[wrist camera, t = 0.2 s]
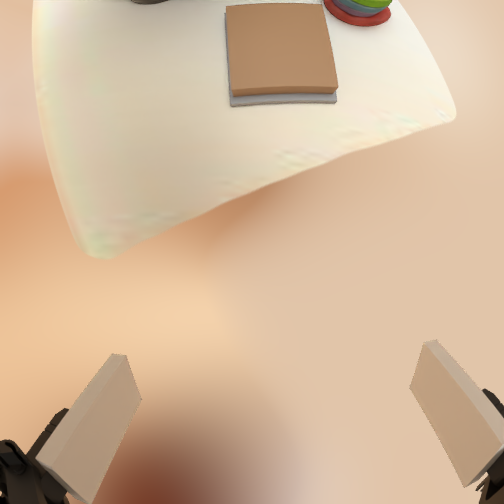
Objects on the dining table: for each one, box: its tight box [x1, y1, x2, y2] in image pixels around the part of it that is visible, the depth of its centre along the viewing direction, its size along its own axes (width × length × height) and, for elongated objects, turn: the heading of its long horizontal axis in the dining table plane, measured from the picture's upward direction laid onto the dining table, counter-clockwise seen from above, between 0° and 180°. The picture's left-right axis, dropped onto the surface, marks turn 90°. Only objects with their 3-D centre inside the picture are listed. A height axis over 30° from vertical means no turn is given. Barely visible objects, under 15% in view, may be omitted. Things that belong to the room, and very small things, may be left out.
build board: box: [225, 3, 338, 107], centre depth 29 cm, size 16×14×4 cm
